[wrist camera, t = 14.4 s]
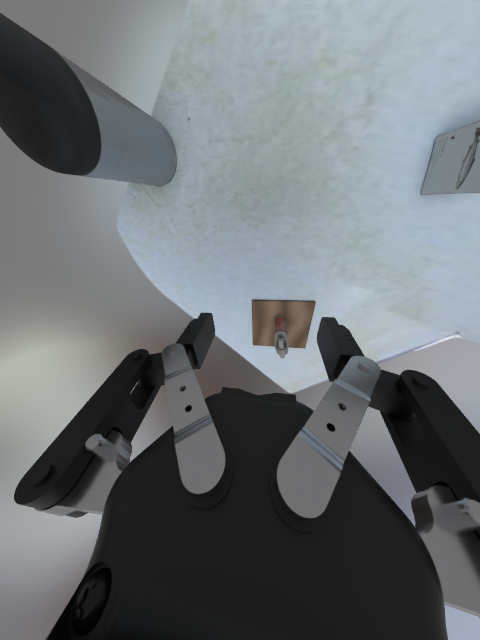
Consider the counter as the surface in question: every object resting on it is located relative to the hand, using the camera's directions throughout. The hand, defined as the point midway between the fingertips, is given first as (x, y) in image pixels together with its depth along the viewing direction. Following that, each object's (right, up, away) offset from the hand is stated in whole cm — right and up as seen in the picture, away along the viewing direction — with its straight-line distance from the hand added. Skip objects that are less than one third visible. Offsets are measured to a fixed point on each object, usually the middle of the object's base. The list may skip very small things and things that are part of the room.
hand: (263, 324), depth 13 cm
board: (+10, -1, +36) cm, 37 cm away
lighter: (+10, -1, +36) cm, 37 cm away
